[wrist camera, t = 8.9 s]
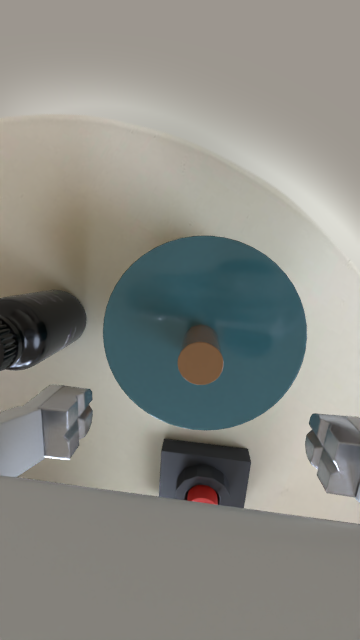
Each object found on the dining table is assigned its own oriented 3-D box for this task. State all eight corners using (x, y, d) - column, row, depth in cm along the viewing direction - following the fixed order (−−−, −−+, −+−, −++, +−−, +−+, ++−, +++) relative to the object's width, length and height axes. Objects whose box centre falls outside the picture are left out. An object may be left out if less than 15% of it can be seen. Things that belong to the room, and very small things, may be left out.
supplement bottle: (88, 346, 31) (18, 397, 19) (36, 339, 31) (-64, 384, 20) (89, 291, 29) (14, 311, 18) (34, 285, 30) (-75, 299, 18)
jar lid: (318, 244, 17) (367, 236, 12) (283, 430, 20) (309, 487, 15) (108, 231, 18) (71, 219, 13) (108, 410, 21) (79, 456, 16)
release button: (218, 486, 29) (219, 500, 28) (215, 510, 30) (216, 525, 29) (188, 482, 30) (187, 495, 28) (186, 506, 31) (185, 520, 29)
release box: (248, 448, 32) (254, 474, 28) (239, 504, 34) (244, 535, 30) (164, 438, 33) (158, 462, 29) (160, 493, 35) (155, 521, 31)
